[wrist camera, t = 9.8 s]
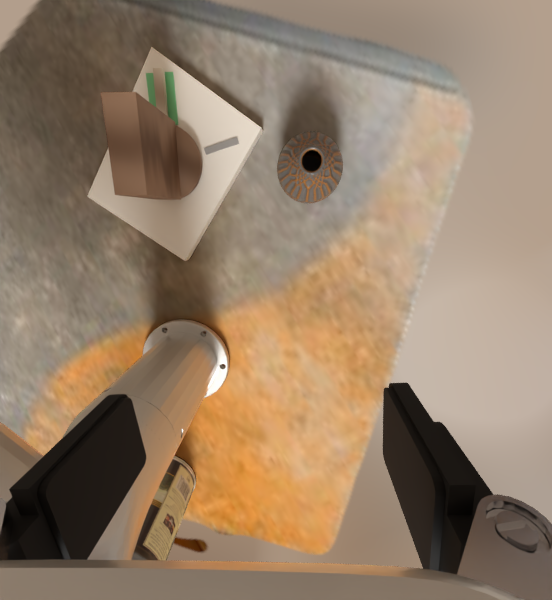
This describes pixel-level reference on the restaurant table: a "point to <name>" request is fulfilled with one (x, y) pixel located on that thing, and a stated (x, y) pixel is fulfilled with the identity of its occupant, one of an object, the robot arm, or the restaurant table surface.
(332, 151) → the vase
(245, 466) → the restaurant table surface
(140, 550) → the coffee can
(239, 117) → the dial board
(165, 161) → the dial knob
